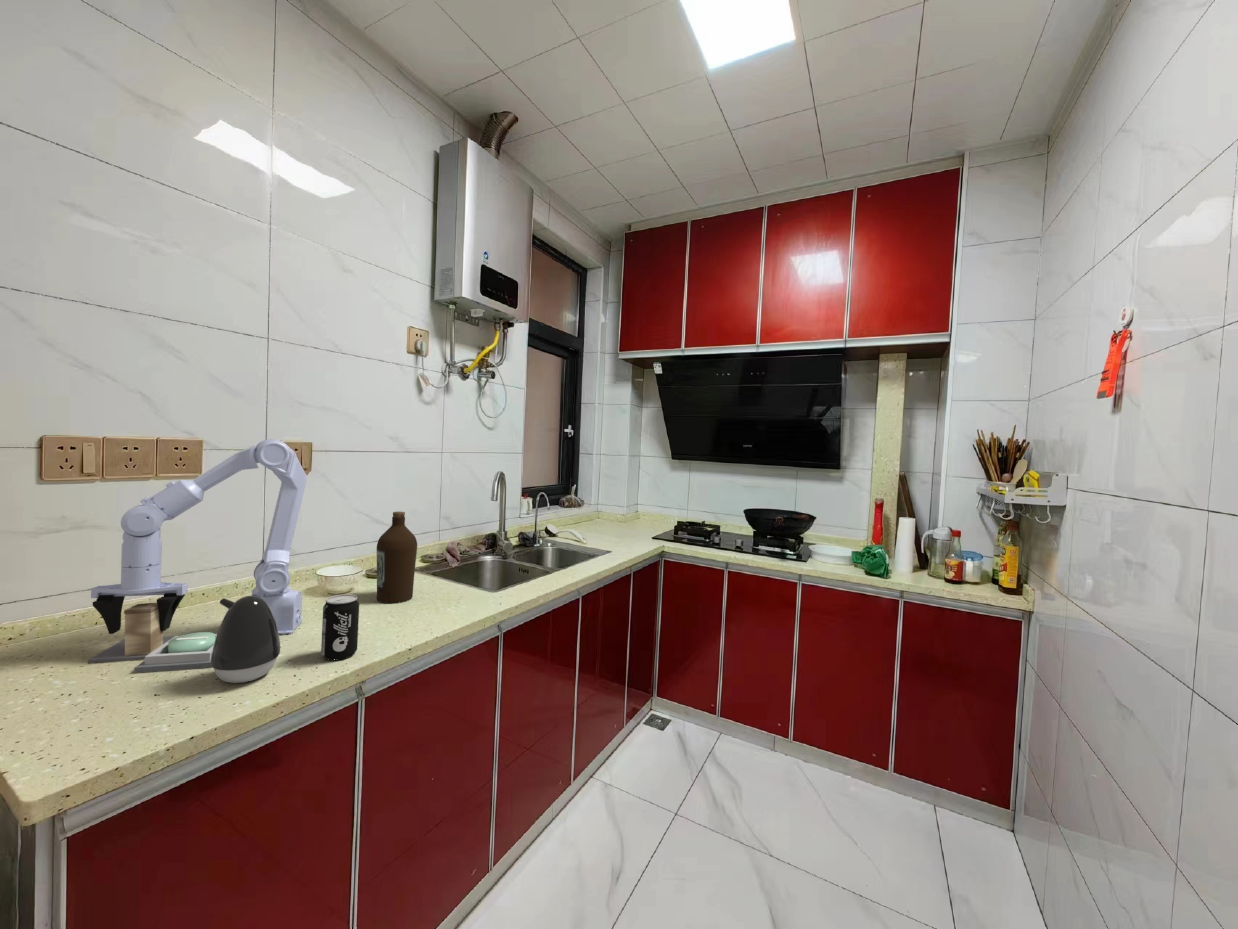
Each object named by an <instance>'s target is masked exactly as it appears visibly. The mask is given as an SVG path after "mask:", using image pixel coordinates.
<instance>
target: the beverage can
mask: <svg viewBox="0 0 1238 929" xmlns="http://www.w3.org/2000/svg"><path fill="white" fill-rule="evenodd" d="M359 618H360V603H359V600H358V596H357V595H355V594H346V593H345V594H335V595H332V596H329V597H327V598H326V599H325V603H324V605H323V607H322V623H321V624H322V625H321V627H322V628H321V649H320V654H321V656H322V657H323V658H324V659H325V660H327V659H329V660H328V661H337V660H336V659H342V660H345V659H347V658H346V657H348V658H350V657H352V656H353V655H354V654H355V653H356V652H357V650H358V640H359V638H358V637H359V622H360V620H359ZM352 654H353V655H352ZM351 655H352V656H351ZM349 656H350V657H349ZM344 658H345V659H344ZM334 659H335V660H334Z"/></svg>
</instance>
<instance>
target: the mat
mask: <svg viewBox="0 0 1238 929" xmlns="http://www.w3.org/2000/svg"><path fill="white" fill-rule="evenodd" d="M174 637H175V636H163V644H165V643H166V642H168V641H169V640H171V639H172V638H174ZM147 655H148V654H144V655H132V656H125V638H123V639H122V640H120V641H118V642H116V643H115V644H113V645H111V646H109V647H108V648H106V649H105V650H103V651H101V652H99V653H98V654H96V655H94V656H92V657H91V658H89V659H88V660H87V663H88V664H93V663H92V662H99V663H111V662H113V661H114V662H126V661H125V660H130V661H141V660H142V659H145V657H146V656H147ZM140 659H141V660H140ZM122 660H124V661H122ZM110 661H111V662H110ZM142 661H143V660H142ZM114 662H113V663H114Z"/></svg>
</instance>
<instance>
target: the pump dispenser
mask: <svg viewBox="0 0 1238 929" xmlns="http://www.w3.org/2000/svg"><path fill="white" fill-rule="evenodd" d="M219 604H221V606H223V607H224V608H226V609H227V611H226V613H225V615H224V617H223V619H222V620H221V622H220V625H219V628H218V631H217V633H216V634H217V635H216V638H215V642H214V646H213V650H212V655H211V666H212V667H213V668H212V669H213V672H214V673H215V675H216V676H217V678H218V679H220V680H221V681H223V682H225V683H231V684H243V683H247V682H248V681H249V682H251V681H254V680H257V679H259V678H262V677H263V676H265V675H267V673H269V671H271V669H272V668H273V667H274V666H275V664H276V662H277V659H278V657H279V656H280V654H281V641H280V640H281V639H280V634H279V633H278V628H277V625H276V621H275V618H274V616H273V613H272V611H271V609H270V607H269V606H268V604H267V603H266V602H265V601H264V600H263V599H262V598H260V597H258V596H252V595H246V596H243V597H241V598H239V599H236V600H235V601H232V600H230V599H227V598H221V599H220V600H219Z"/></svg>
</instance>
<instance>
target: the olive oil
mask: <svg viewBox="0 0 1238 929" xmlns="http://www.w3.org/2000/svg"><path fill="white" fill-rule="evenodd" d="M405 514H406V512H405V511H393V512H392V518H391V519H392V520H391V521H392V522H391V526H389V527H388V529H387V530H385V531H384V533H382V534H381V536H380V537H379V538H378V540H377V544H376V600H377V601H378V602H379V603H383V604H398V603H399V602H400V603H403V601H405V602H408V601H410V600H411V599H412V598H413V596H414V595H413V594H414V582H415V573H416V572H415V571H416V565H417V564H416V561H417V554H418V542H417V538H416V536H415V535H414V534H413V532H412V531H411V530H410V529H409V528H408V527H407V526H406V524H405V523H406V516H405ZM409 599H410V600H409ZM407 600H408V601H407Z"/></svg>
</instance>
